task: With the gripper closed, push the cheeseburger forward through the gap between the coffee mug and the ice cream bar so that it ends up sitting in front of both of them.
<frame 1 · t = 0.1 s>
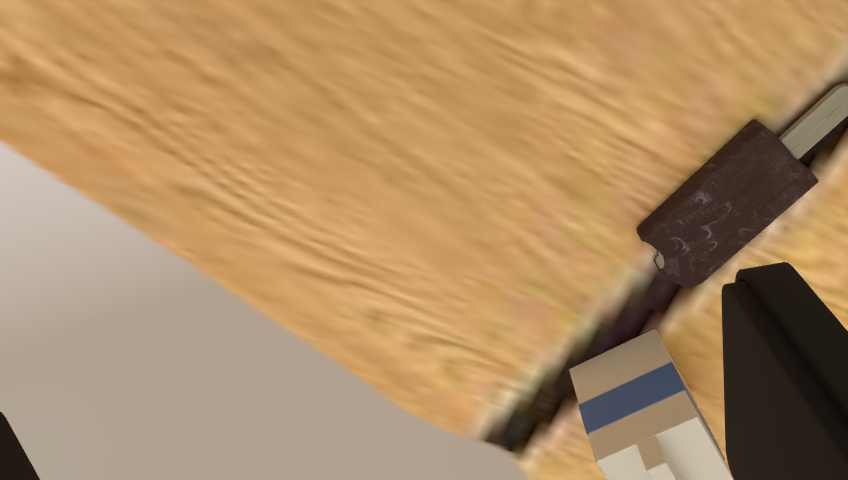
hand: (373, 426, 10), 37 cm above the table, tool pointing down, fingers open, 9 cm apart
ice cream bar: (745, 175, 49), on the table
milk carton: (630, 381, 56), on the table
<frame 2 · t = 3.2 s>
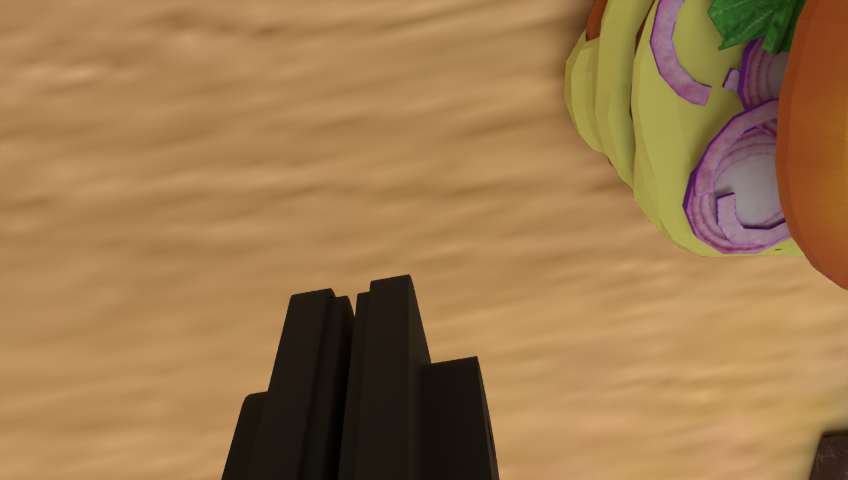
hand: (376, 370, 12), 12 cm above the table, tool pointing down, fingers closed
cheeseburger: (770, 24, 22), on the table
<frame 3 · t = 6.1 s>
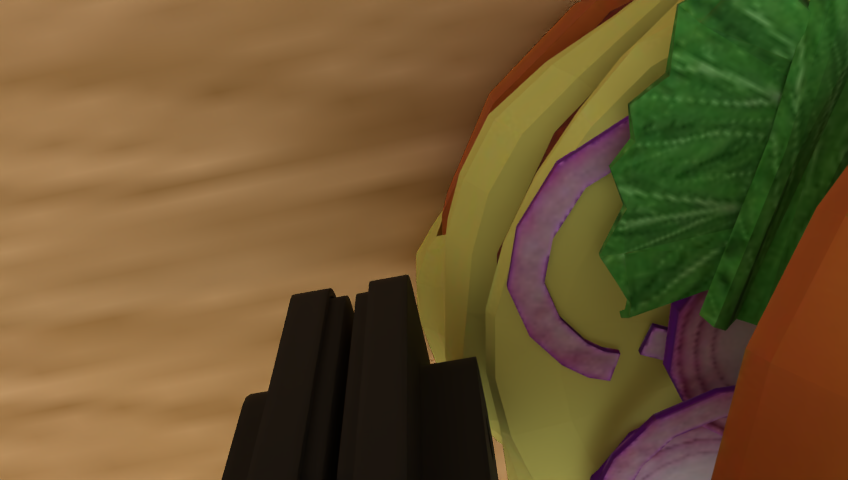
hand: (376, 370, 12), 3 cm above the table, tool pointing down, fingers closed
cheeseburger: (743, 186, 14), on the table, touching gripper
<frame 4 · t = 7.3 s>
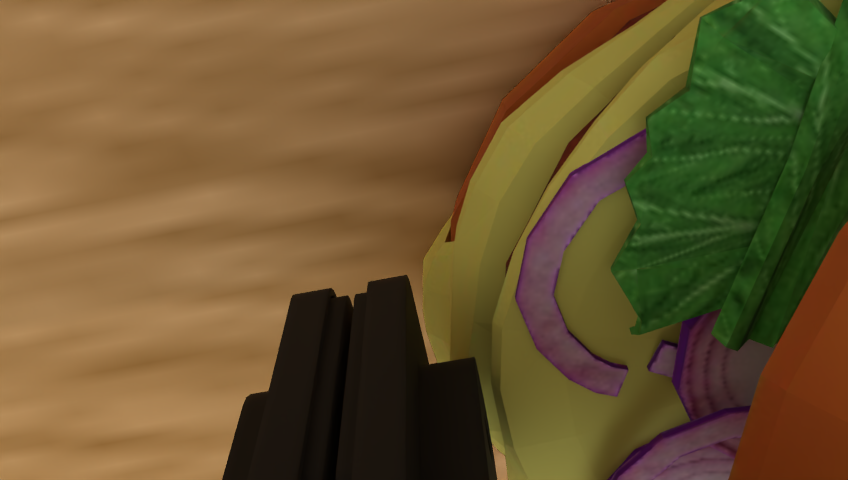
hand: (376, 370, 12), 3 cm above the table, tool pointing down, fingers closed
cheeseburger: (757, 200, 14), on the table, touching gripper
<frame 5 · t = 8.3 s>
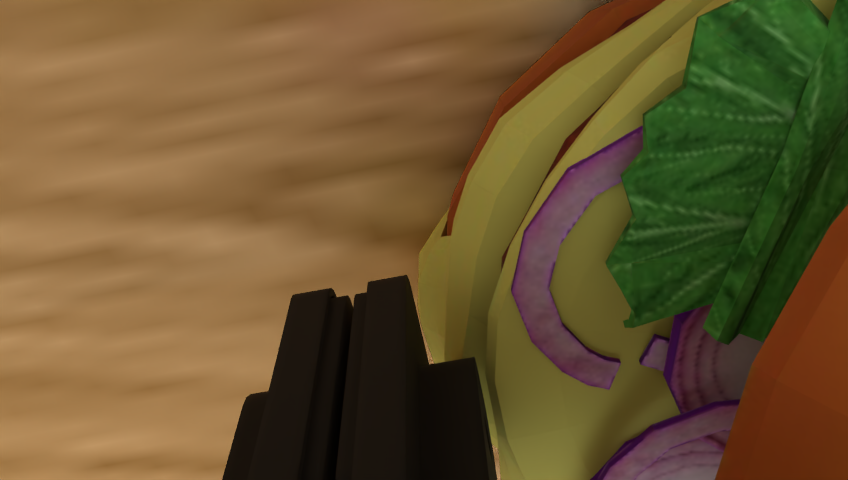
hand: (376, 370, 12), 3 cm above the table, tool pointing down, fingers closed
cheeseburger: (747, 200, 14), on the table, touching gripper
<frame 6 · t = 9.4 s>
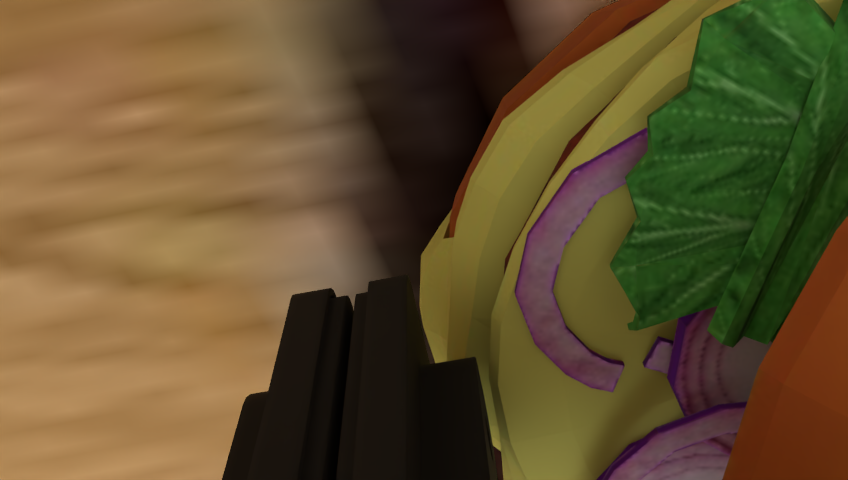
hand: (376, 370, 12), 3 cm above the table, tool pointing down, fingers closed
cheeseburger: (750, 201, 14), on the table, touching gripper
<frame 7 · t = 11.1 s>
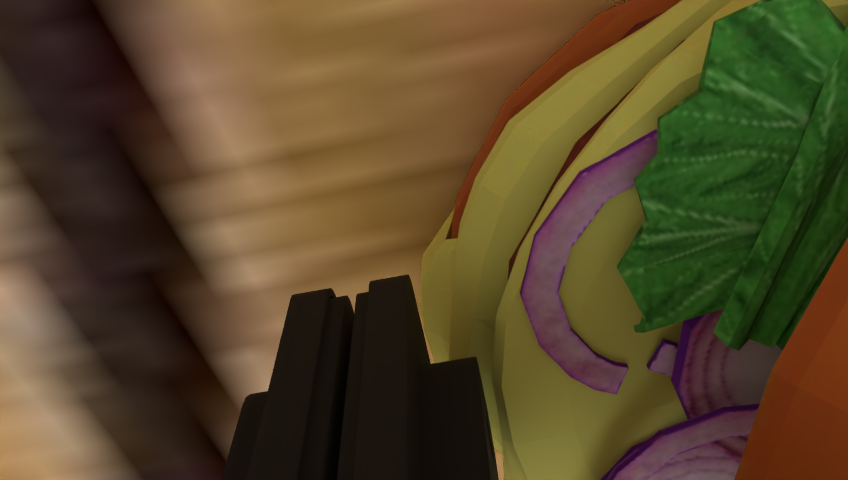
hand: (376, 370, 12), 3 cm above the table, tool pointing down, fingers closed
cheeseburger: (749, 205, 14), on the table, touching gripper
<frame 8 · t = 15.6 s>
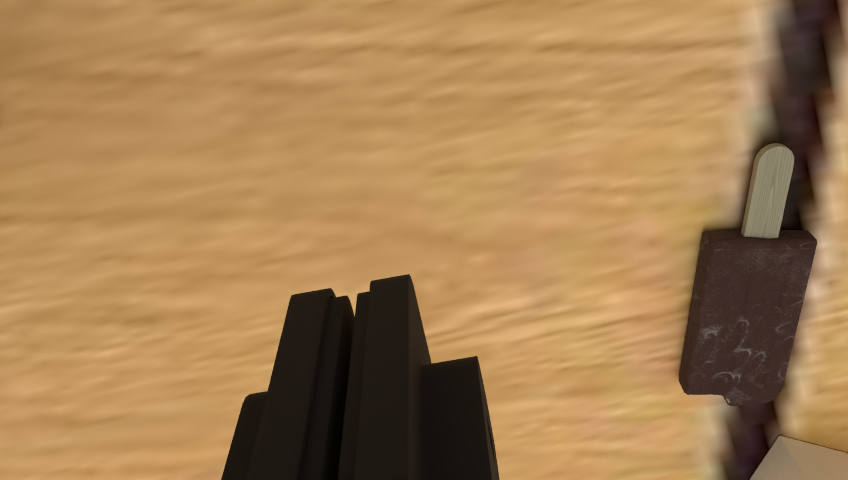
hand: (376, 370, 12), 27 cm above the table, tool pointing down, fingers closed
ice cream bar: (742, 272, 43), on the table
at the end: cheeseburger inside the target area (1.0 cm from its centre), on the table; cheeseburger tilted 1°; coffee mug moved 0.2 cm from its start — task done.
